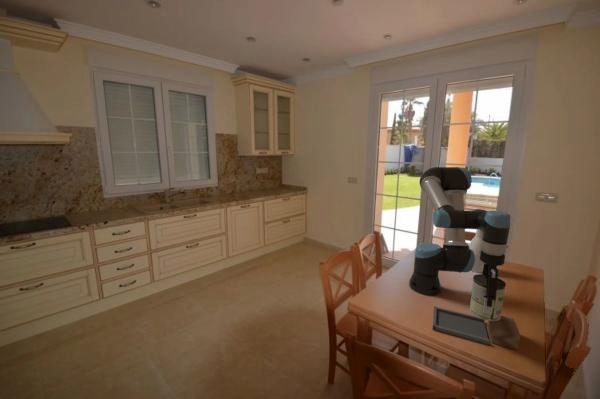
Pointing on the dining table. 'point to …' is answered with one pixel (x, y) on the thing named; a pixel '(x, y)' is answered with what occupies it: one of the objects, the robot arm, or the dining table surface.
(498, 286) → the coffee can
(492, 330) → the ledge block
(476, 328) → the tray mat
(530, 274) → the dining table surface
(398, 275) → the dining table surface
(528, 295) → the dining table surface
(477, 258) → the bottle
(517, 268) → the dining table surface
